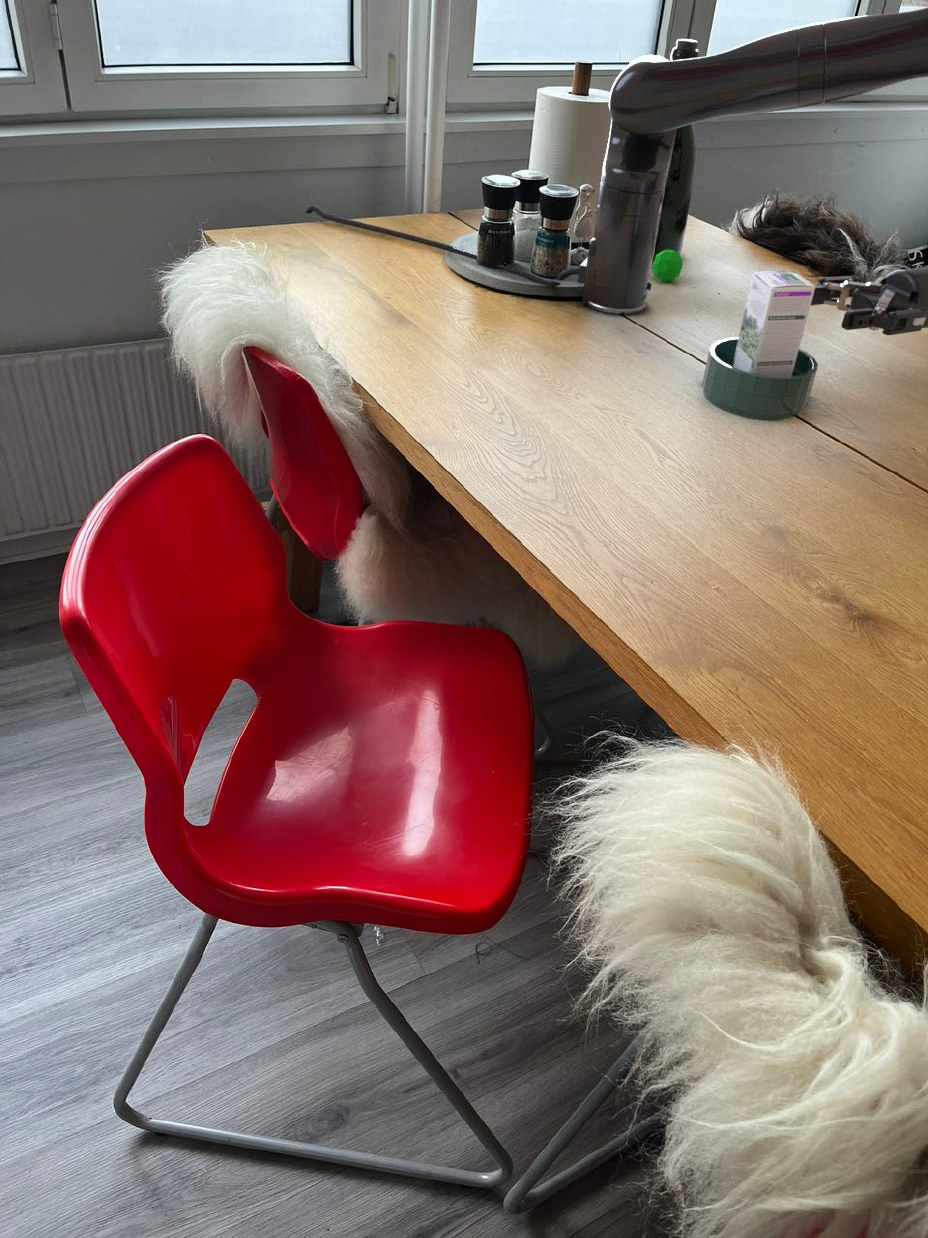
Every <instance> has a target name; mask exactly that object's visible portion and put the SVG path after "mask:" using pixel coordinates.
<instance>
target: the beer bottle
mask: <svg viewBox="0 0 928 1238" xmlns="http://www.w3.org/2000/svg"><path fill="white" fill-rule="evenodd" d="M698 44H699V42H698V41H697V40H695V39H691V38H679V39H677V40H676V42H675V47H673V48H672V51H671V53H670V57H669V58H670V59H669V61H676V60H685V59H693V58H700V51H699V49H697V48H698ZM694 126H695V125H694V123H693V124H690V125H686V126H682V127H679V128H676V133H675V139H674V144H673V150H672V156H671V161H670V166H669V170H668V175H667V180H666V185H665V191H664V197H663V203H662V209H661V214H660V220H659V226H658V232H657V238H656V243H655V249H654V255H653V261H652V262H654V260H655V257H656V255H657V254H659V253H660V252H662V251H664V250H673V251H675V252H676V253H678V254H679V255H680V256H681V254H682V251H683V246H684V240H685V234H686V230H687V223H688V218H689V212H690V206H691V199H692V194H693V188H694V184H695V183H694V182H695V176H696V168H697V159H698V158H697V157H698V156H697V152H698V151H697V149H698V147H697V140H696V133H695V127H694Z"/></svg>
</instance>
